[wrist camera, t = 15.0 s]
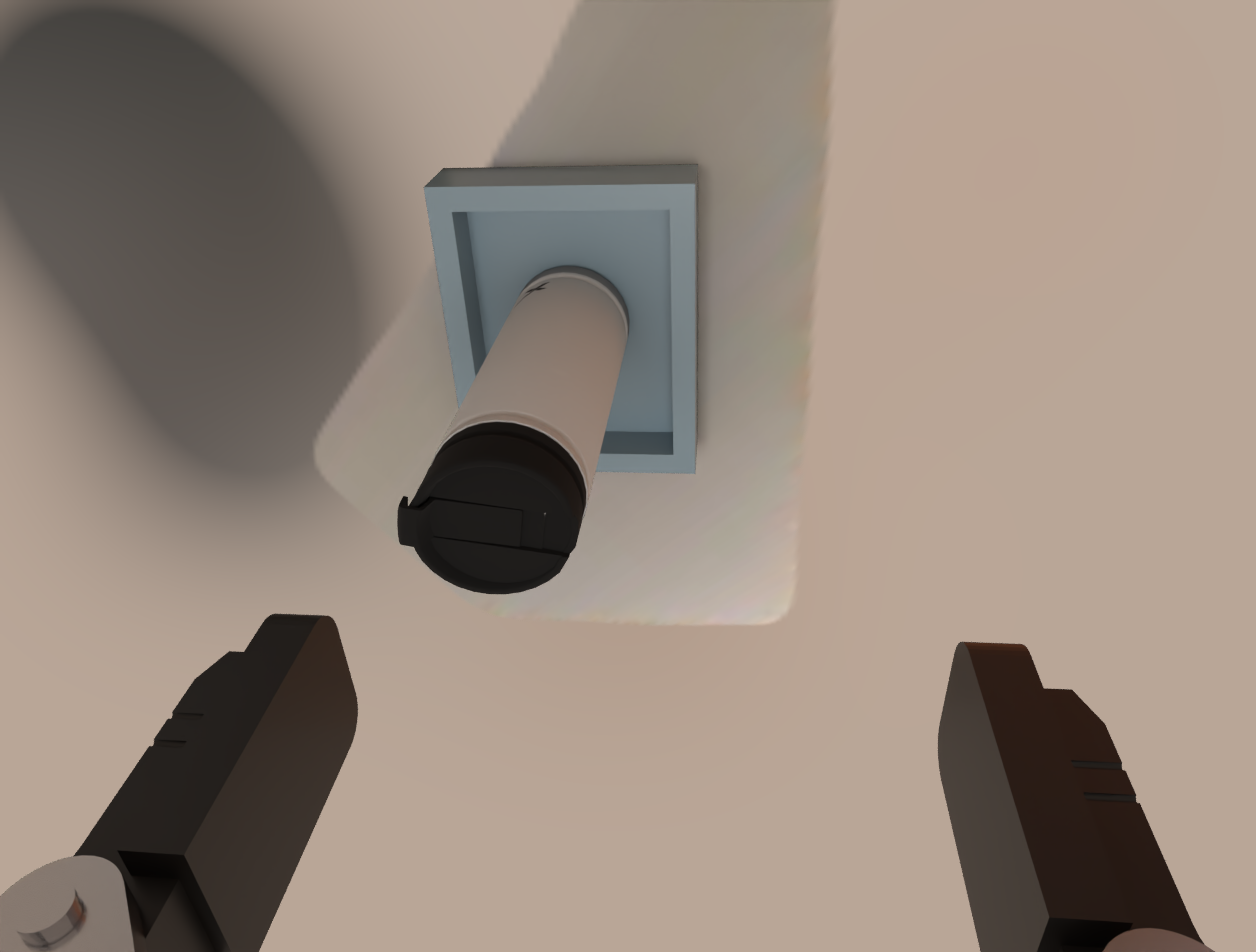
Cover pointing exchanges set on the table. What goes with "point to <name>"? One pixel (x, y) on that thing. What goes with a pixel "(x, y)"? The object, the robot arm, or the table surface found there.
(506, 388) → the travel mug
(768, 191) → the table surface
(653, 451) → the slate tray
